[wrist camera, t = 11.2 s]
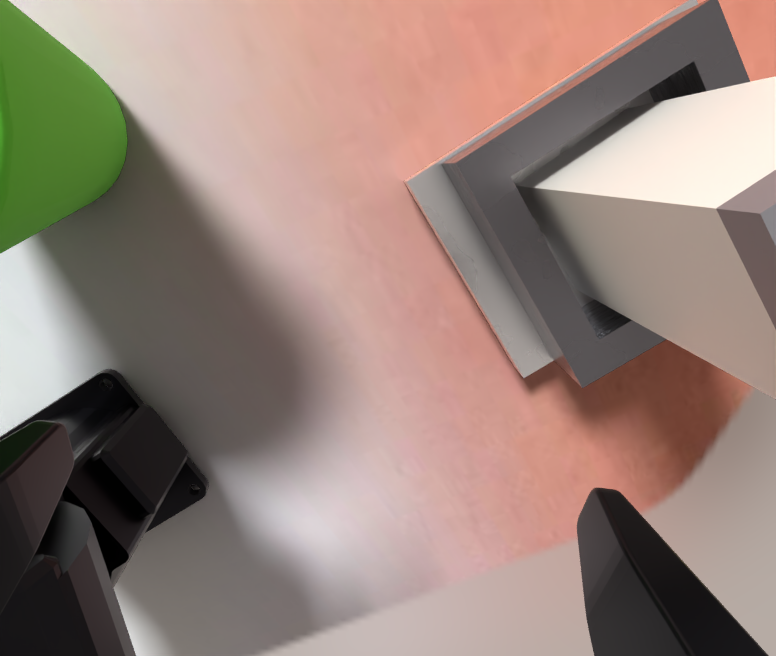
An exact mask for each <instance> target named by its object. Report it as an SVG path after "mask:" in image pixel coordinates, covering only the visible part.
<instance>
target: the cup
mask: <svg viewBox="0 0 776 656" xmlns="http://www.w3.org/2000/svg"><path fill="white" fill-rule="evenodd" d="M127 143H128V141H127V131H126V123H125V120H124V117H123V114H122V111H121V108H120V105H119V103H118V101H117V99H116V98H115V96H114V94H113V93H112V91H111V89H110V88H109V86H108V85H107V84H106V83H105V82H104V80H103V79H102V78H101V77H100V76H99V75H98V74H97V73H96V72H95V71H94V70H93V69H92V68H91V67H89V66H88V65H87V64H86V63H85V62H83V61H82V60H81V59H80V58H78V57H77V56H76V55H75V54H73V53H72V52H71V51H70V50H69V49H67V48H66V47H65V46H64V45H62V44H61V43H60V42H59V41H57V40H56V39H55V38H54V37H53V36H51V35H50V34H49V33H48V32H46V31H45V30H44V29H43V28H41V27H40V26H39V25H38V24H37V23H35V22H34V21H33V20H32V19H30V18H29V17H28V16H27V15H25V14H24V13H23V12H22V11H21V10H19V9H18V8H17V7H16V6H14V5H13V4H12V3H11V2H9V1H8V0H0V253H2V252H4V251H6V250H7V249H9V248H11V247H13V246H15V245H16V244H18V243H20V242H22V241H24V240H25V239H27V238H29V237H31V236H33V235H34V234H36V233H38V232H40V231H41V230H43V229H45V228H47V227H49V226H50V225H52V224H54V223H56V222H58V221H59V220H61V219H63V218H65V217H67V216H68V215H70V214H72V213H74V212H75V211H77V210H79V209H81V208H83V207H84V206H86V205H88V204H90V203H92V202H93V201H95V200H96V199H98V198H99V197H100V196H102V195H103V194H104V193H106V192H107V191H108V190H109V189H110V187H111V186H112V185H113V183H114V182H115V181H116V180H117V178H118V177H119V174H120V172H121V169H122V167H123V165H124V162H125V158H126V151H127Z"/></svg>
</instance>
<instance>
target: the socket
mask: <svg viewBox="0 0 776 656" xmlns="http://www.w3.org/2000/svg"><path fill="white" fill-rule="evenodd" d="M747 82H750V80H749V78H748V75H747V72H746V70H745V67H744V65H743V62H742V60H741V57H740V55H739V52H738V50H737V47H736V45H735V42H734V40H733V37H732V35H731V32H730V30H729V27H728V24H727V22H726V19H725V17H724V14H723V12H722V9H721V7H720V4H719V2H718V0H706V1H704V2H702V3H700V4H698V3H697V0H687V1H685V2H683V3H681V4H679V5H677V6H675V7H673V8H671V9H669V10H668V11H666V12H665V13H663V14H662V15H660V16H658V17H657V18H655V19H654V20H652V21H651V22H649V23H648V24H646V25H644V26H643V27H641V28H640V29H638V30H637V31H635V32H634V33H632V34H630V35H629V36H627V37H626V38H624V39H623V40H621V41H620V42H618V43H617V44H615V45H613V46H612V47H610V48H609V49H607V50H606V51H604V52H603V53H601V54H599V55H598V56H596V57H595V58H593V59H592V60H590V61H589V62H587V63H585V64H584V65H582V66H581V67H579V68H578V69H576V70H575V71H573V72H572V73H570V74H568V75H567V76H565V77H564V78H562V79H561V80H559V81H558V82H556V83H554V84H553V85H551V86H550V87H548V88H547V89H545V90H544V91H542V92H541V93H539V94H537V95H536V96H534V97H533V98H531V99H530V100H528V101H527V102H525V103H523V104H522V105H520V106H519V107H517V108H516V109H514V110H513V111H511V112H509V113H508V114H506V115H505V116H503V117H502V118H500V119H499V120H497V121H496V122H494V123H492V124H491V125H489V126H488V127H486V128H485V129H483V130H482V131H480V132H478V133H477V134H475V135H474V136H472V137H471V138H469V139H468V140H466V141H464V142H463V143H461V144H460V145H458V146H457V147H455V148H454V149H452V150H451V151H449V152H447V153H446V154H444V155H443V156H441V157H440V158H438V159H437V160H435V161H433V162H432V163H430V164H429V165H427V166H426V167H424V168H423V169H421V170H419V171H418V172H416V173H415V174H413V175H412V176H410V177H409V178H407V179H406V180H404V183H405V184H406V186H407V188H408V189H409V191H410V193H411V194H412V196H413V198H414V199H415V201H416V203H417V204H418V206H419V208H420V210H421V211H422V213H423V215H424V216H425V218H426V220H427V221H428V223H429V225H430V226H431V228H432V230H433V231H434V233H435V235H436V236H437V238H438V240H439V241H440V243H441V245H442V246H443V248H444V250H445V251H446V253H447V255H448V257H449V258H450V260H451V262H452V263H453V265H454V267H455V268H456V270H457V272H458V273H459V275H460V277H461V278H462V280H463V282H464V283H465V285H466V287H467V288H468V290H469V292H470V293H471V295H472V297H473V298H474V300H475V302H476V304H477V305H478V307H479V309H480V310H481V312H482V314H483V315H484V317H485V319H486V320H487V322H488V324H489V325H490V327H491V329H492V330H493V332H494V334H495V335H496V337H497V339H498V340H499V342H500V344H501V345H502V347H503V349H504V350H505V352H506V354H507V356H508V357H509V359H510V361H511V362H512V364H513V366H514V367H515V368H516V369H517V371H518V372H519V373H520V374H521V376H522V377H523V378H525V377H527V376H528V375H530V374H532V373H534V372H535V371H537V370H539V369H540V368H542V367H544V366H545V365H547V364H549V363H550V362H552V361H555V362H556V363H557V364H558V365H559V366H560V367H561V368H562V369H563V370H564V371H565V372H566V373H567V374H568V375H569V376H570V377H572V378H573V379H574V380H575V381H576V382H577V383H578V384H579V385H580V386H581V387H582V388H583V387H585V386H587V385H589V384H590V383H592V382H594V381H596V380H597V379H599V378H601V377H602V376H604V375H606V374H608V373H609V372H611V371H613V370H614V369H616V368H618V367H620V366H621V365H623V364H625V363H627V362H628V361H630V360H632V359H633V358H635V357H637V356H639V355H640V354H642V353H644V352H645V351H647V350H649V349H651V348H652V347H654V346H656V345H658V344H659V343H661V342H663V341H664V340H666V339H665V338H664V337H662V336H660V335H658V334H656V333H655V332H653V331H651V330H649V329H647V328H645V327H644V326H642V325H640V324H638V323H636V322H635V321H633V320H631V319H629V318H627V317H626V316H624V315H622V314H620V313H618V312H617V311H615V310H613V309H611V308H609V307H608V306H606V305H604V304H602V303H600V302H598V301H597V300H595V299H593V298H591V297H589V296H588V295H586V294H584V293H582V292H580V291H579V290H577V289H576V287H575V286H574V284H573V282H572V281H571V279H570V277H569V276H568V274H567V272H566V271H565V269H564V267H563V265H562V264H561V262H560V260H559V259H558V257H557V255H556V254H555V252H554V250H553V249H552V247H551V245H550V244H549V242H548V240H547V239H546V237H545V235H544V234H543V232H542V230H541V228H540V227H539V225H538V223H537V222H536V220H535V218H534V217H533V215H532V213H531V212H530V210H529V208H528V207H527V205H526V203H525V202H524V200H523V198H522V197H521V195H520V193H519V191H518V189H517V187H516V184H518V183H519V182H521V181H522V180H524V179H525V178H527V177H528V176H530V175H531V174H533V173H534V172H535V171H537V170H538V169H540V168H541V167H543V166H544V165H546V164H547V163H549V162H550V161H552V160H553V159H554V158H556V157H557V156H559V155H560V154H562V153H563V152H565V151H566V150H568V149H569V148H571V147H572V146H573V145H575V144H576V143H578V142H579V141H581V140H582V139H584V138H585V137H587V136H588V135H590V134H591V133H592V132H594V131H595V130H597V129H598V128H600V127H601V126H603V125H604V124H606V123H607V122H609V121H610V120H611V119H613V118H614V117H616V116H617V115H619V114H620V113H622V112H623V111H625V110H626V109H628V108H632V107H636V106H641V105H646V104H650V103H655V102H660V101H664V100H669V99H673V98H678V97H683V96H687V95H692V94H696V93H701V92H706V91H710V90H715V89H719V88H724V87H729V86H733V85H738V84H743V83H747Z"/></svg>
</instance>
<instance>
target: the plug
mask: <svg viewBox="0 0 776 656" xmlns="http://www.w3.org/2000/svg"><path fill="white" fill-rule="evenodd" d="M516 187H517V189H518V191H519V193H520V195H521V197H522V198H523V200H524V202H525V203H526V205H527V207H528V208H529V210H530V212H531V213H532V215H533V217H534V218H535V220H536V222H537V223H538V225H539V227H540V228H541V230H542V232H543V234H544V235H545V237H546V239H547V240H548V242H549V244H550V245H551V247H552V249H553V250H554V252H555V254H556V255H557V257H558V259H559V260H560V262H561V264H562V265H563V267H564V269H565V271H566V272H567V274H568V276H569V277H570V279H571V281H572V282H573V284H574V286H575V287H576V289H577V290H579V291H580V292H582V293H584V294H586V295H588V296H589V297H591V298H593V299H595V300H597V301H598V302H600V303H602V304H604V305H606V306H608V307H609V308H611V309H613V310H615V311H617V312H618V313H620V314H622V315H624V316H626V317H627V318H629V319H631V320H633V321H635V322H636V323H638V324H640V325H642V326H644V327H645V328H647V329H649V330H651V331H653V332H655V333H656V334H658V335H660V336H662V337H664V338H665V339H667V340H669V341H671V342H673V343H674V344H676V345H678V346H680V347H682V348H683V349H685V350H687V351H689V352H691V353H692V354H694V355H696V356H698V357H700V358H702V359H703V360H705V361H707V362H709V363H711V364H712V365H714V366H716V367H718V368H720V369H721V370H723V371H725V372H727V373H729V374H730V375H732V376H734V377H736V378H738V379H739V380H741V381H743V382H745V383H747V384H749V385H750V386H752V387H754V388H756V389H758V390H759V391H761V392H763V393H765V394H767V395H768V396H770V397H772V398H774V399H776V76H775V77H770V78H766V79H761V80H756V81H752V82H747V83H743V84H738V85H733V86H729V87H724V88H719V89H715V90H710V91H706V92H701V93H696V94H692V95H687V96H683V97H678V98H673V99H669V100H664V101H660V102H655V103H650V104H646V105H641V106H636V107H632V108H628V109H626V110H625V111H623V112H622V113H620V114H619V115H617V116H616V117H614V118H613V119H611V120H610V121H609V122H607V123H606V124H604V125H603V126H601V127H600V128H598V129H597V130H595V131H594V132H592V133H591V134H590V135H588V136H587V137H585V138H584V139H582V140H581V141H579V142H578V143H576V144H575V145H573V146H572V147H571V148H569V149H568V150H566V151H565V152H563V153H562V154H560V155H559V156H557V157H556V158H554V159H553V160H552V161H550V162H549V163H547V164H546V165H544V166H543V167H541V168H540V169H538V170H537V171H535V172H534V173H533V174H531V175H530V176H528V177H527V178H525V179H524V180H522V181H521V182H519V183H518V184H516Z"/></svg>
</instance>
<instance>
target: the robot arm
mask: <svg viewBox="0 0 776 656" xmlns="http://www.w3.org/2000/svg"><path fill="white" fill-rule="evenodd" d="M104 379H109V380H110V381H111V382H112V384H113V386H112V387H108V386H106V385H105V384H104V382H103V380H104ZM187 455H188V451H187V450H186V448H185V447H184V446H183V445H182V444H181V442H180V441H179V440H178V439H177V437H176V436H175V435H174V434H173V433H172V431H171V430H170V429H169V428H168V427H167V425H166V424H165V423H164V422H163V420H162V419H161V418H160V417H159V416H158V414H157V413H156V412H155V411H154V410H153V408H152V407H151V406H148V405H145V404H144V403H143V401H142V400H141V399H140V398H139V397H138V395H137V394H136V393H135V392H134V390H133V389H132V388H131V387H130V386H129V384H128V383H127V382H126V381H125V380H124V378H123V377H122V376H121V375H120V374H119V373H118V372H117V371H115V370H112V369H106V370H103V371H101V372H99V373H98V374H96V375H95V376H93V377H92V378H90V379H89V380H87V381H86V382H84V383H82V384H81V385H79V386H78V387H76V388H75V389H73V390H72V391H70V392H68V393H67V394H65V395H64V396H62V397H61V398H59V399H58V400H56V401H55V402H53V403H51V404H50V405H48V406H47V407H45V408H44V409H42V410H41V411H39V412H37V413H36V414H34V415H33V416H31V417H30V418H28V419H27V420H25V421H24V422H22V423H20V424H19V425H17V426H16V427H14V428H13V429H11V430H10V431H8V432H7V433H5V434H3V435H2V436H0V656H136V654H135V651H134V648H133V645H132V642H131V639H130V636H129V633H128V630H127V627H126V624H125V621H124V618H123V615H122V612H121V609H120V606H119V603H118V600H117V597H116V594H115V591H114V589H113V587H114V586H115V584H116V582H117V580H118V579H119V577H120V575H121V573H122V572H123V570H124V568H125V567H126V565H127V563H128V561H129V560H130V558H131V556H132V554H133V553H134V551H135V549H136V547H137V546H138V544H139V542H140V541H141V539H142V537H143V535H144V534H145V533H146V532H147V531H149V530H151V529H152V528H154V527H156V526H157V525H159V524H161V523H162V522H164V521H166V520H167V519H169V518H171V517H172V516H174V515H176V514H177V513H179V512H180V511H182V510H184V509H185V508H187V507H189V506H190V505H192V504H194V503H195V502H197V501H199V500H200V499H202V498H203V497H204V496H205V494H206V492H207V490H208V487H209V484H208V481H207V479H206V478H205V476H204V475H203V474H202V473H201V472H200V470H199V469H198V468H197V467H196V466H195V464H194V463H193V462H192V461H191V460H190V458H189V457H188V456H187ZM192 484H194V485H197V486H199V488H200V490H194V489H193V488H191V486H190V485H192ZM577 535H578V545H579V553H580V564H581V572H582V582H583V592H584V601H585V609H586V617H587V623H588V628H589V633H590V637H591V642H592V647H593V651H594V656H768V654H766V652H765V651H764V650H763V649H762V648H761V647H760V646H759V645H758V643H757V642H756V641H755V640H754V639H753V638H752V637H751V636H750V635H749V634H748V632H747V631H746V630H745V629H744V628H743V627H742V626H741V625H740V624H739V623H738V621H737V620H736V619H735V618H734V617H733V616H732V615H731V614H730V613H729V612H728V610H727V609H726V608H725V607H724V606H723V605H722V604H721V603H720V602H719V600H717V598H716V597H715V596H714V595H713V594H712V593H711V592H710V591H709V589H708V588H707V587H706V586H705V585H704V584H703V583H702V582H701V581H700V580H699V578H698V577H697V576H696V575H695V574H694V573H693V572H692V571H691V570H690V568H688V566H687V565H686V564H685V563H684V562H683V561H682V560H681V559H680V557H679V556H678V555H677V554H676V553H675V552H674V551H673V550H672V549H671V548H670V546H669V545H668V544H667V543H666V542H665V541H664V540H663V539H662V538H661V537H660V535H659V534H658V533H657V532H656V531H655V530H654V529H653V528H652V527H651V525H650V524H649V523H648V522H647V521H646V520H645V519H644V518H643V517H642V516H641V514H640V513H639V512H638V511H637V510H636V509H635V508H634V507H633V506H632V505H631V503H630V502H629V501H628V500H627V499H626V498H625V497H624V496H623V495H622V494H621V493H620V492H619V491H617V490H613V489H605V488H594V489H593V490H592V491H591V492H590V494H589V496H588V498H587V500H586V502H585V504H584V507H583V509H582V511H581V513H580V515H579V518H578V522H577Z"/></svg>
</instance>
